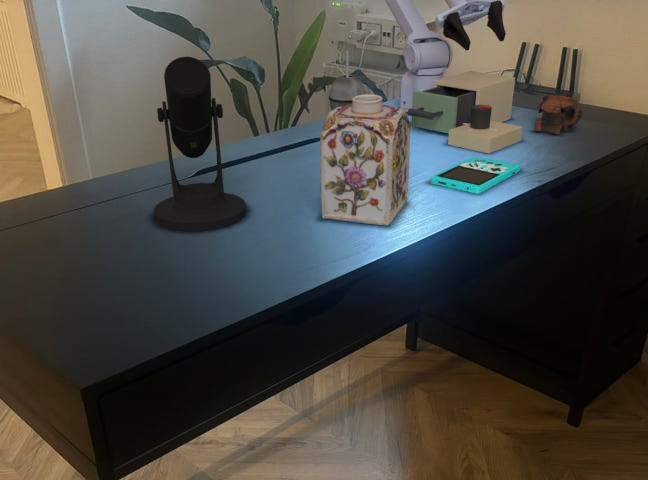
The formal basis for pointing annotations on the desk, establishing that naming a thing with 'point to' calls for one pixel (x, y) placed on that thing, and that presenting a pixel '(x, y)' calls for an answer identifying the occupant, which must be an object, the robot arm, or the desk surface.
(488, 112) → the timer dial
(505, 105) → the drawer box
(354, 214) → the decorative jar
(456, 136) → the block
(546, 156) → the desk surface
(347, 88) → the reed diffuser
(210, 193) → the microphone
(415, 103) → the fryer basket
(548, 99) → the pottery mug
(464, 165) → the handheld game console
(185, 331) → the desk surface
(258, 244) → the desk surface
